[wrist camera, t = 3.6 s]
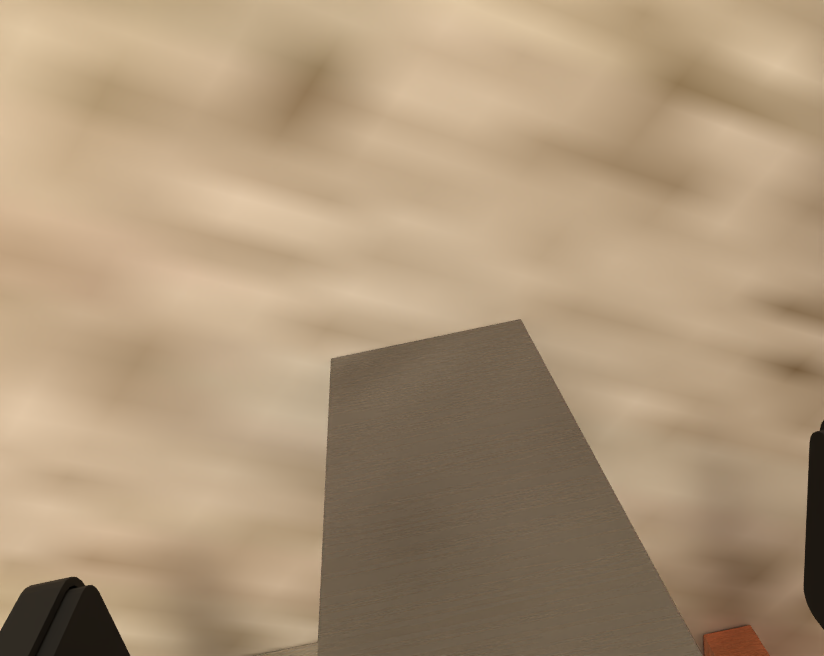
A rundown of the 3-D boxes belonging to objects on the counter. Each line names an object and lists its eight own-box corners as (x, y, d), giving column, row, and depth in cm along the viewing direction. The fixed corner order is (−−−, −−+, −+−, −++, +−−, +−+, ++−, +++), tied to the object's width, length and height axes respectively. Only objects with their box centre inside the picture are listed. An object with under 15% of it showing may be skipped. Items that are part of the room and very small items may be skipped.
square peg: (520, 319, 12) (889, 1000, 4) (542, 475, 13) (848, 1225, 5) (330, 358, 12) (296, 1121, 4) (372, 510, 13) (409, 1314, 5)
